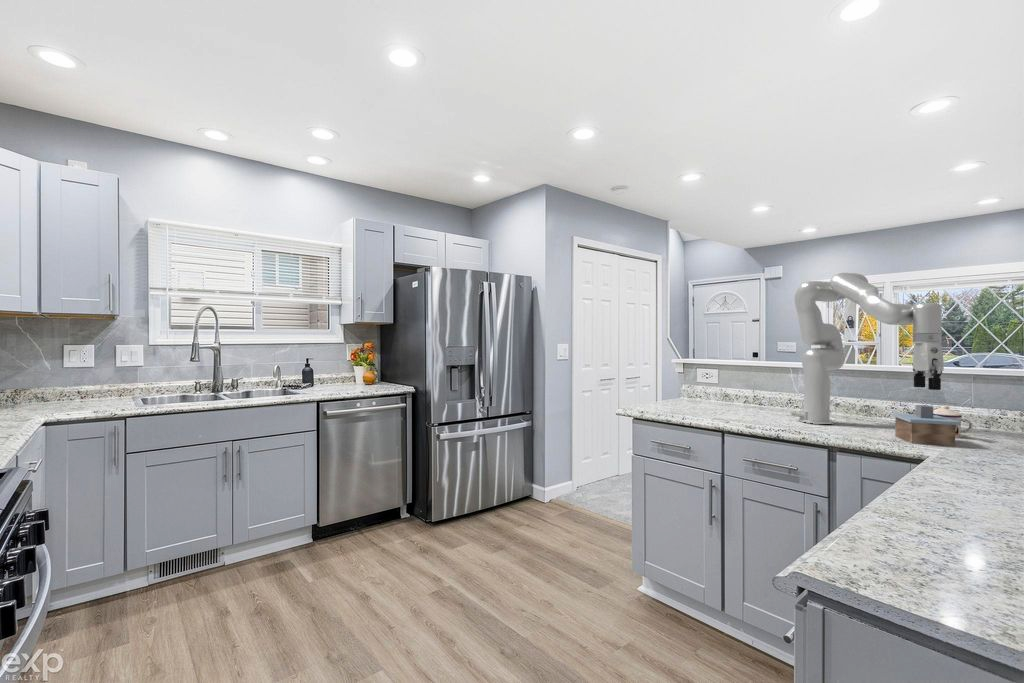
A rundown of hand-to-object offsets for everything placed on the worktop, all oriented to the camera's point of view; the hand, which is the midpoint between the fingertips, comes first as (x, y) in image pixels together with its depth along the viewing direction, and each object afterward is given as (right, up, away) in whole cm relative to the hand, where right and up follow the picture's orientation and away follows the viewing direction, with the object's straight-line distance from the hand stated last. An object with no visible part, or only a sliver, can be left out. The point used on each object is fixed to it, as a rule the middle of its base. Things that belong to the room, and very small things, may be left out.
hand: (926, 388), depth 166 cm
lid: (0, -11, +1) cm, 11 cm away
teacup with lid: (+17, -19, +10) cm, 28 cm away
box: (0, -19, +1) cm, 19 cm away
